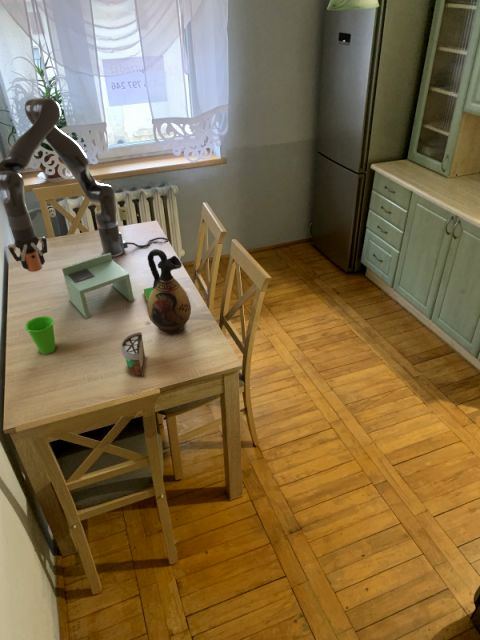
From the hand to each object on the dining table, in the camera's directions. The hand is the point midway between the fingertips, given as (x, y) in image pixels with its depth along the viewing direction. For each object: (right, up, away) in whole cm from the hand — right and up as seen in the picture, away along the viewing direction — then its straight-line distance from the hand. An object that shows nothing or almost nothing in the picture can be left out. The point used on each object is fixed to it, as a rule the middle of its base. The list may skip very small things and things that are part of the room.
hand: (34, 266), depth 179 cm
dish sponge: (+46, -13, +7) cm, 48 cm away
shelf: (+24, -13, +8) cm, 28 cm away
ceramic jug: (+53, -23, -8) cm, 59 cm away
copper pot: (0, -1, +1) cm, 1 cm away
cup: (+13, -31, -18) cm, 38 cm away
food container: (+45, -36, -27) cm, 64 cm away
